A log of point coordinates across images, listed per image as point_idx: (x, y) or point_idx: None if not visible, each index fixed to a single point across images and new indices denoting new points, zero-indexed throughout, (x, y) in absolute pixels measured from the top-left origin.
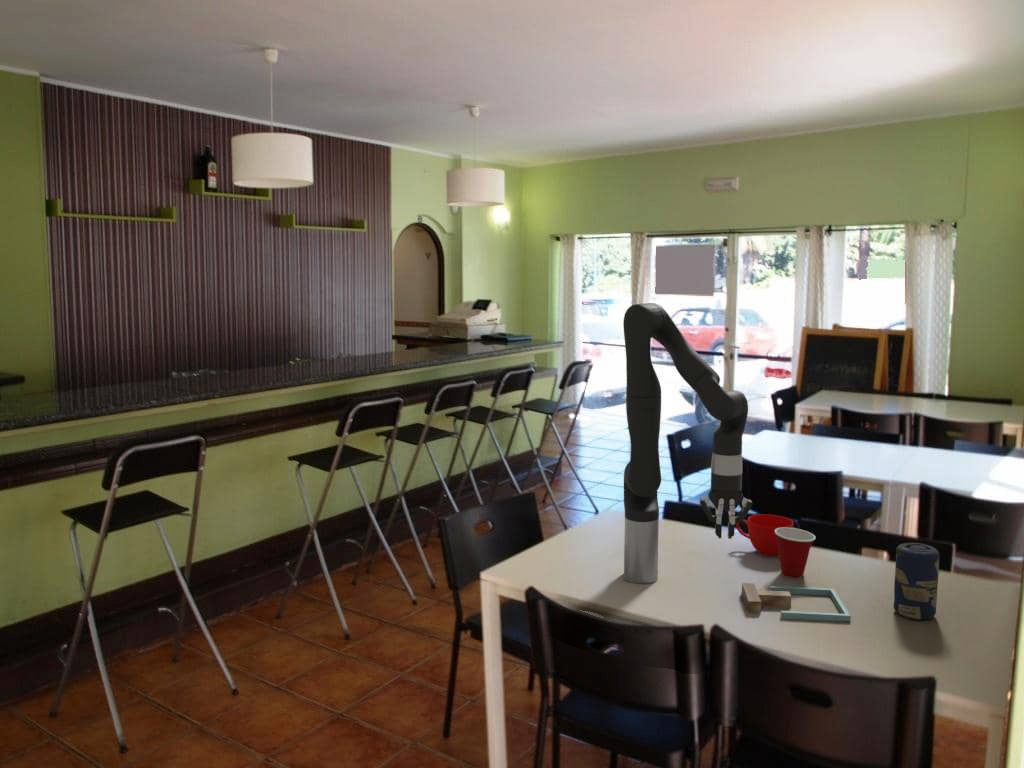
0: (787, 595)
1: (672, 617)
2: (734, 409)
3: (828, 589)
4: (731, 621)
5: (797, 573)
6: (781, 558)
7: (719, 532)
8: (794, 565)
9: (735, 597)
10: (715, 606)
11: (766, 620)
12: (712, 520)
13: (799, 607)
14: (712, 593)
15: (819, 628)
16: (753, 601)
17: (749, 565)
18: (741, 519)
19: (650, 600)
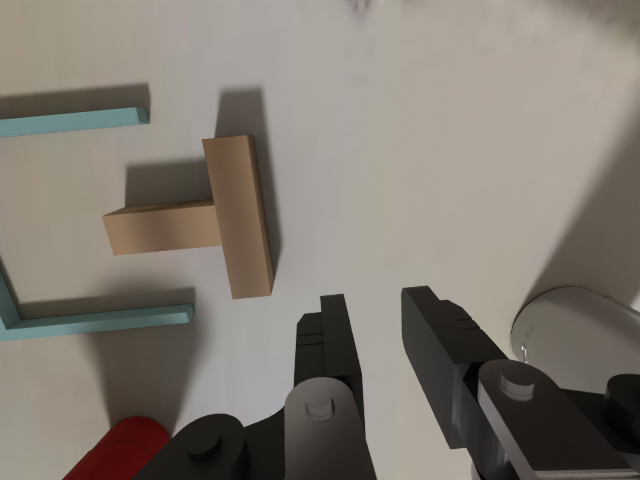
0: (115, 219)
1: (503, 34)
2: None
3: (12, 332)
4: (307, 43)
5: (118, 426)
6: None
7: (438, 307)
8: (112, 445)
9: (293, 248)
10: (355, 163)
11: (193, 79)
12: (623, 385)
13: (98, 213)
14: (360, 263)
15: (14, 46)
16: (229, 137)
17: None
18: (177, 462)
19: (555, 167)
